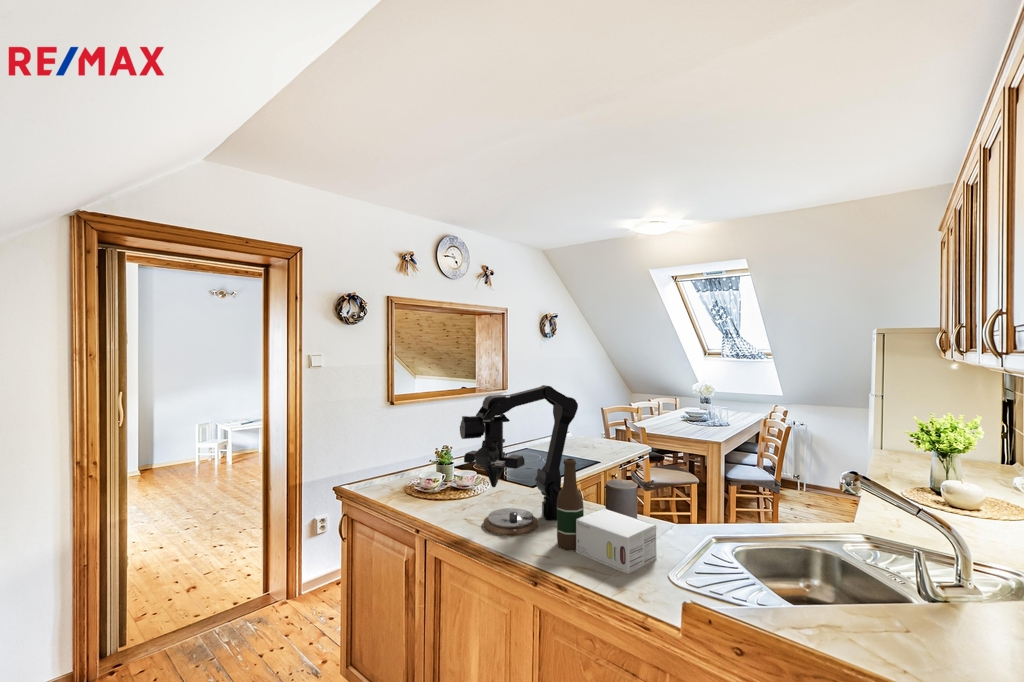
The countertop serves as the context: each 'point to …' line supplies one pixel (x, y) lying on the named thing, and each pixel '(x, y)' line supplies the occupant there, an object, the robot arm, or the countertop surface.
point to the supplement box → (616, 540)
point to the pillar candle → (621, 497)
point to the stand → (511, 532)
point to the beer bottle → (568, 508)
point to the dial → (510, 518)
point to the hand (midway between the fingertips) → (493, 487)
